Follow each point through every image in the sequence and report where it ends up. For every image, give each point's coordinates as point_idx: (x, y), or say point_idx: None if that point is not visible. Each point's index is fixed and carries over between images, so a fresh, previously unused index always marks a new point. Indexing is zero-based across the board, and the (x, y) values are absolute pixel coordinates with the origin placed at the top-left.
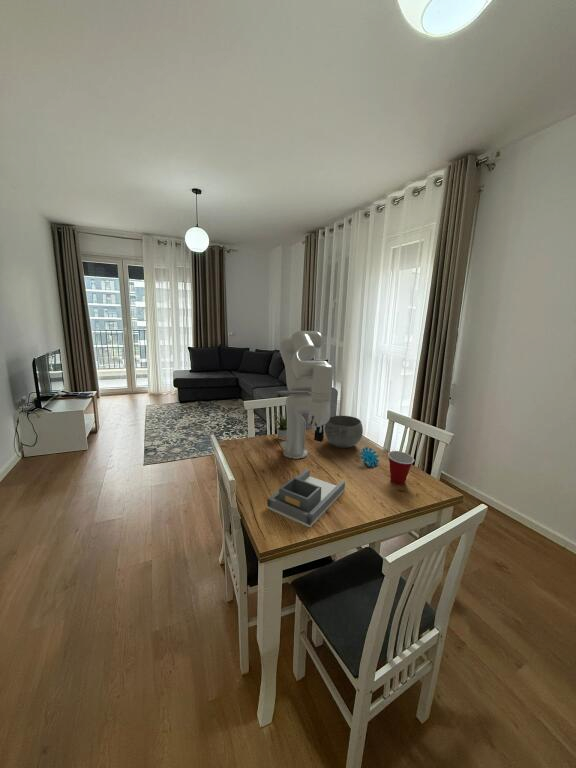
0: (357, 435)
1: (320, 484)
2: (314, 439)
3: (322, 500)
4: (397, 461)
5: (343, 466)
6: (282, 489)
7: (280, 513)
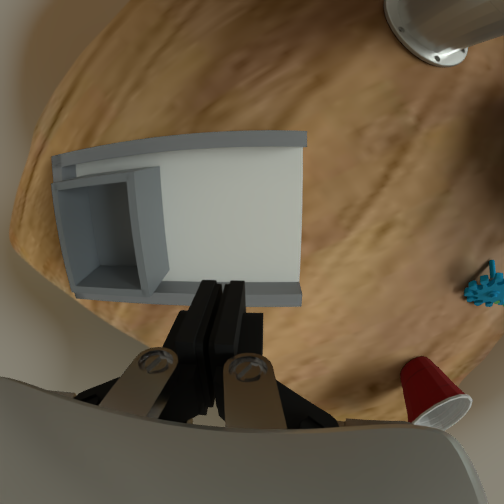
0: None
1: (272, 213)
2: (203, 280)
3: None
4: None
5: (445, 219)
6: (53, 196)
7: None
